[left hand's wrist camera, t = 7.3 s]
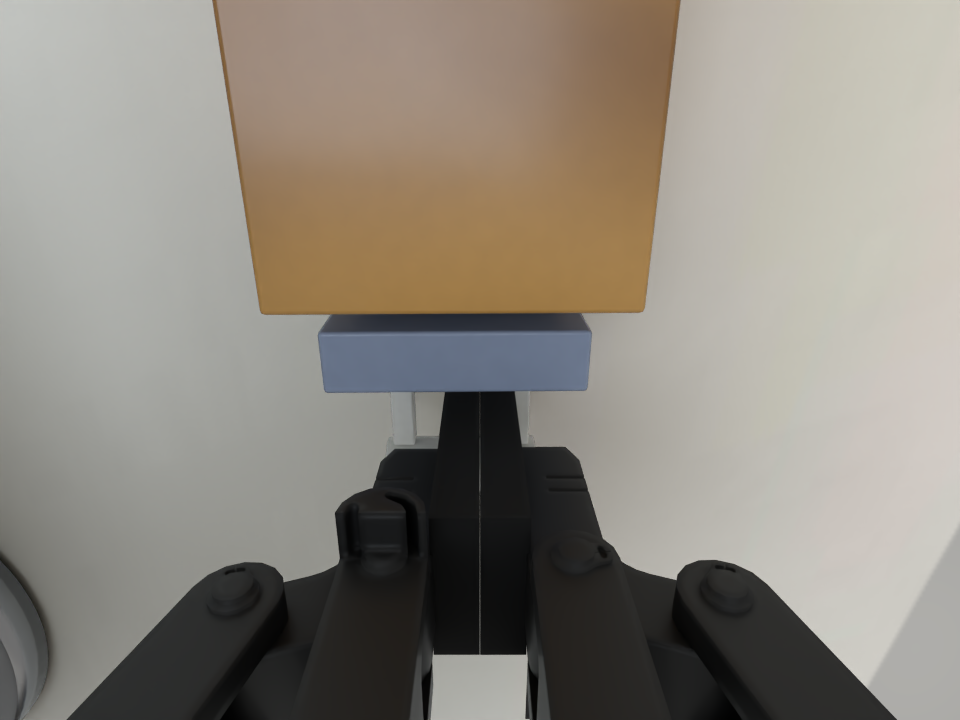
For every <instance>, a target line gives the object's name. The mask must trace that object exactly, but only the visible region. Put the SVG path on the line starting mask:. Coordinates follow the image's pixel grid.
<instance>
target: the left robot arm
mask: <svg viewBox="0 0 960 720" xmlns="http://www.w3.org/2000/svg"><path fill="white" fill-rule="evenodd" d="M335 518H336V527H337V536H338V545H339V554H340V560H339V563H338V565H336V566H334V567H332V568H330V569H328V570H326V571H324V572H322V573H319V574H316V575H312V576H309V577H305V578H301V579H296V580H292V581H288V582H283V577H282V576H281V575H280V573H279V572H278V571H277V570H276V569H275V568H274V567H271V566H269V565H266V564H263V563H250V562H244V563H240V564H235V565H231V566H226V567H224V568H222V569H220V570H218V571H216V572H213V573H211V574H209V575H207V576H206V577H205V578H204V579H202V580H201V581H200V582H199V583H197V584H196V585H195V586H194V587H193V588H192V589H191V590H190V591H189V592H188V593H187V594H186V595H185V596H184V597H183V598H182V599H181V600H180V601H179V602H178V603H177V604H176V605H175V607H174V608H173V609H172V610H171V611H170V612H169V613H168V614H167V615H166V616H165V617H164V618H163V619H162V620H161V621H160V622H159V623H158V624H157V625H156V626H155V628H154V629H153V630H152V631H151V632H150V633H149V634H148V635H147V636H146V637H145V638H144V639H143V640H142V641H141V642H140V643H139V644H138V645H137V646H136V647H135V649H134V650H133V651H132V652H131V653H130V654H129V655H128V656H127V657H126V658H125V659H124V660H123V661H122V662H121V663H120V664H119V665H118V666H117V667H116V668H115V670H114V671H113V672H112V673H111V674H110V675H109V676H108V677H107V678H106V679H105V680H104V681H103V682H102V683H101V684H100V685H99V686H98V687H97V688H96V689H95V691H94V692H93V693H92V694H91V695H90V696H89V697H88V698H87V699H86V700H85V701H84V702H83V703H82V704H81V705H80V706H79V707H78V708H77V709H76V710H75V712H74V713H73V714H72V715H71V716H70V717H69V718H68V719H67V720H430V718H431V706H432V693H433V669H432V657H433V648H434V655H526V645H527V655H528V669H527V693H526V717H525V719H530V720H897V719H896V718H895V717H894V716H893V715H892V714H891V713H890V712H889V711H888V710H887V709H886V708H885V707H884V706H883V705H882V704H881V703H880V701H879V700H878V699H877V698H876V697H875V696H874V695H873V694H872V693H871V692H870V691H869V690H868V689H867V688H866V687H865V686H864V685H863V684H862V683H861V682H860V681H859V680H858V679H857V678H856V676H855V675H854V674H853V673H852V672H851V671H850V670H849V669H848V668H847V667H846V666H845V665H844V664H843V663H842V662H841V661H840V660H839V659H838V658H837V657H836V656H835V655H834V654H833V652H832V651H831V650H830V649H829V648H828V647H827V646H826V645H825V644H824V643H823V642H822V641H821V640H820V639H819V638H818V637H817V636H816V635H815V634H814V633H813V632H812V631H811V630H810V629H809V627H808V626H807V625H806V624H805V623H804V622H803V621H802V620H801V619H800V618H799V617H798V616H797V615H796V614H795V613H794V612H793V611H792V610H791V609H790V608H789V607H788V606H787V605H786V603H785V602H784V601H783V600H782V599H781V598H780V597H779V596H778V595H777V594H776V593H775V592H774V591H773V590H772V589H771V588H770V587H769V586H768V585H767V584H766V583H765V582H764V581H762V580H761V579H760V578H759V577H757V576H756V575H755V574H753V573H752V572H750V571H748V570H746V569H744V568H741V567H739V566H737V565H735V564H731V563H727V562H722V561H718V560H699V561H696V562H693V563H691V564H688V565H686V566H685V567H684V568H683V569H682V570H681V571H680V572H679V574H678V575H677V580H673V579H669V578H665V577H660V576H656V575H652V574H648V573H645V572H642V571H639V570H636V569H634V568H632V567H630V566H628V565H626V564H624V563H623V562H621V560H620V557H619V556H618V554H617V552H616V551H615V549H614V547H613V546H612V545H610V544H609V543H608V542H606V541H605V540H604V539H603V538H602V535H601V531H600V528H599V525H598V521H597V518H596V515H595V511H594V508H593V504H592V501H591V498H590V494H589V492H588V488H587V484H586V481H585V479H584V474H583V471H582V468H581V464H580V461H579V460H578V459H577V458H576V457H575V456H574V455H573V454H572V453H571V452H570V451H569V450H568V449H567V448H566V447H522V442H521V435H520V427H519V420H518V412H517V405H516V397H515V391H487V392H445V396H444V404H443V411H442V419H441V426H440V434H439V441H438V449H394V450H393V451H392V452H391V453H390V454H389V455H388V456H387V457H385V458H384V459H383V460H382V461H381V463H380V466H379V470H378V473H377V476H376V480H375V483H374V486H373V488H372V489H368V490H365V491H362V492H359V493H356V494H354V495H353V496H351V497H350V498H348V499H347V500H345V501H344V502H342V504H341V505H340V506H339V508H338V509H337V511H336V512H335ZM47 669H48V647H47V640H46V636H45V632H44V628H43V625H42V623H41V620H40V618H39V615H38V613H37V611H36V609H35V607H34V605H33V603H32V601H31V599H30V598H29V596H28V595H27V593H26V592H25V590H24V589H23V587H22V585H21V584H20V583H19V582H18V580H17V579H16V578H15V577H14V575H13V574H12V573H11V572H10V570H9V569H8V568H7V567H6V566H5V565H4V564H3V563H2V562H1V561H0V720H22V719H23V718H24V717H25V715H26V714H27V713H28V711H29V710H30V709H31V707H32V706H33V705H34V703H35V702H36V700H37V699H38V697H39V695H40V693H41V691H42V689H43V686H44V683H45V680H46V675H47Z"/></svg>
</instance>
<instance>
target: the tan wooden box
mask: <svg viewBox="0 0 960 720" xmlns="http://www.w3.org/2000/svg"><path fill="white" fill-rule="evenodd" d="M212 1H213V7H214V14H215V20H216V27H217V33H218V40H219V46H220V53H221V59H222V66H223V72H224V79H225V86H226V92H227V99H228V105H229V112H230V118H231V125H232V131H233V138H234V144H235V151H236V157H237V164H238V170H239V177H240V183H241V190H242V196H243V203H244V209H245V216H246V222H247V229H248V235H249V242H250V248H251V255H252V261H253V268H254V274H255V281H256V287H257V294H258V300H259V307H260V311H261V313H262V314H265V315H326V314H506V313H640V312H643V310H644V308H645V302H646V293H647V285H648V276H649V267H650V259H651V250H652V242H653V233H654V224H655V216H656V207H657V199H658V190H659V181H660V173H661V164H662V156H663V147H664V138H665V130H666V121H667V113H668V104H669V96H670V87H671V78H672V70H673V61H674V53H675V44H676V35H677V27H678V18H679V10H680V1H681V0H212Z"/></svg>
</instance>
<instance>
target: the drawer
mask: <svg viewBox="0 0 960 720" xmlns="http://www.w3.org/2000/svg"><path fill="white" fill-rule="evenodd" d="M591 338H592V332H591V330H590V328H589V327H588V325H587V323H586V321H585V320H584V318H583V316H582V314H581V313H506V314H331V315H330V317H329V318H328V320H327V321H326V323H325V324H324V326H323V327H322V328H321V330H320V331H319V333H318V341H319V350H320V359H321V367H322V376H323V385H324V390H325V392H327V393H363V392H390V398H391V413H392V428H393V437H389V439H388V442H387V448H386V457H387V456H388V455H389V454H390V453H391V452H392V451H393V450H394V449H438V441H439V436H416V435H417V430H416V409H415V392H487V391H515V397H516V405H517V412H518V420H519V427H520V435H521V442H522V447H535V441H534V438H533V436H531V435H529V410H530V391H585V390H586V389H587V387H588V375H589V363H590V351H591Z"/></svg>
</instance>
